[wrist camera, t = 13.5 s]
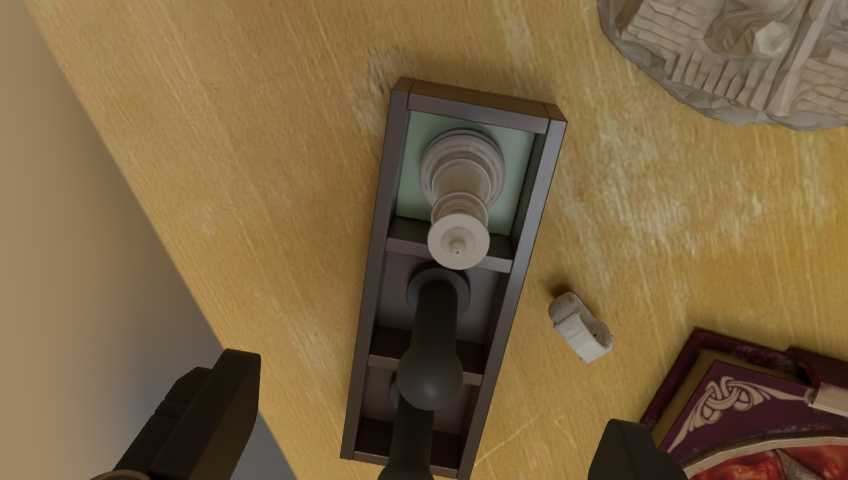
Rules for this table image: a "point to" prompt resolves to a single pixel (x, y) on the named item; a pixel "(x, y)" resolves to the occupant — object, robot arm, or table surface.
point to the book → (753, 413)
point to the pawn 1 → (433, 336)
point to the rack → (408, 249)
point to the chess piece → (460, 194)
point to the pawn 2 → (409, 440)
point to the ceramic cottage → (741, 56)
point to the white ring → (580, 327)
